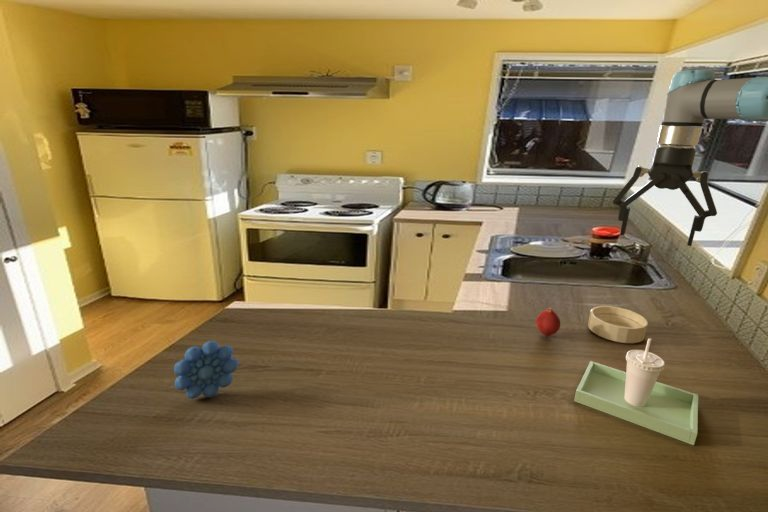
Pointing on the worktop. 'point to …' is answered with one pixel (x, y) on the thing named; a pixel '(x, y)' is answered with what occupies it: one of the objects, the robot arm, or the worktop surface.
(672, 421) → the tray
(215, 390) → the blue flower
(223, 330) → the worktop surface
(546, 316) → the onion
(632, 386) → the smoothie
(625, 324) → the bowl
